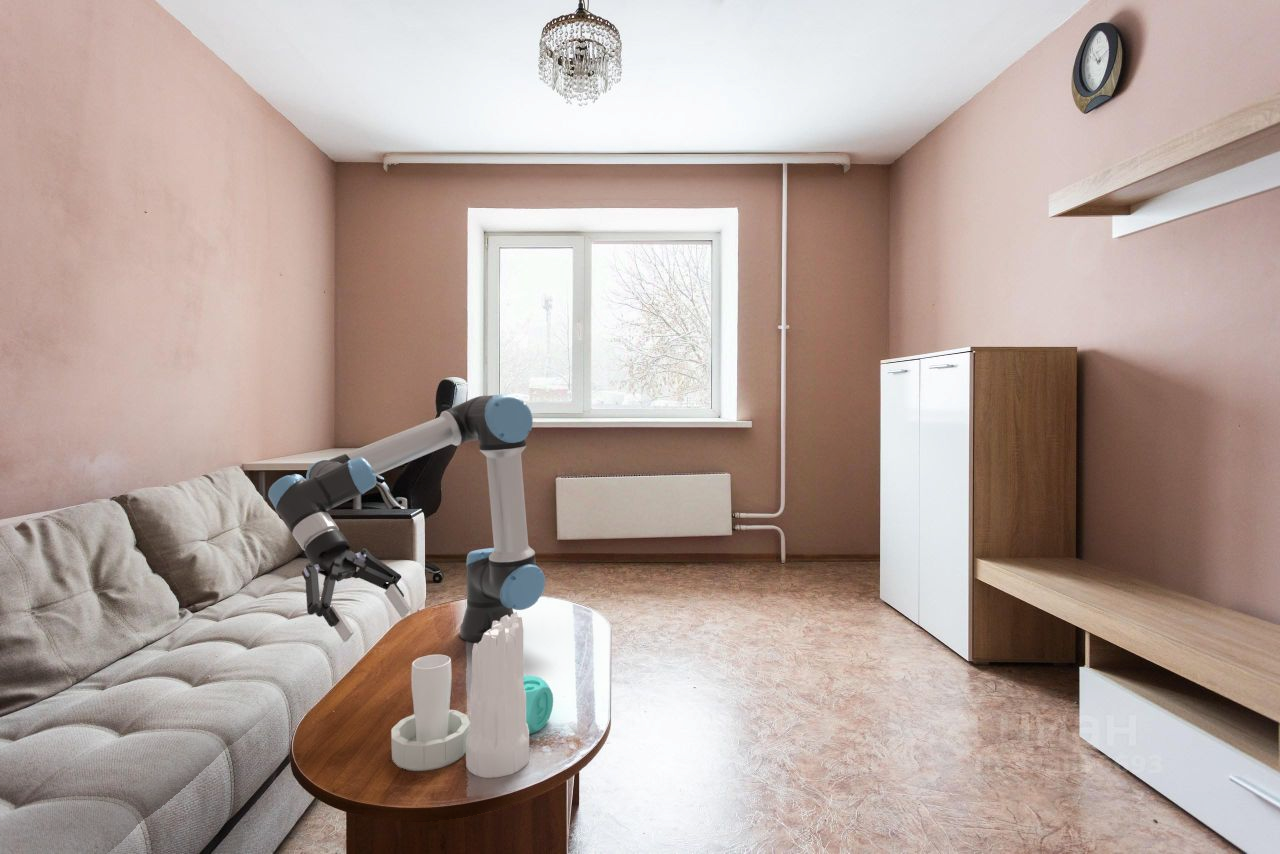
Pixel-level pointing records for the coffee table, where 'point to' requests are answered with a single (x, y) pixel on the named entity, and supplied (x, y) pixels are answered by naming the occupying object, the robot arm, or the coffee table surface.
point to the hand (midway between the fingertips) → (379, 624)
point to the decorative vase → (498, 702)
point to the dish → (429, 744)
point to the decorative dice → (537, 702)
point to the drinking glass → (431, 696)
